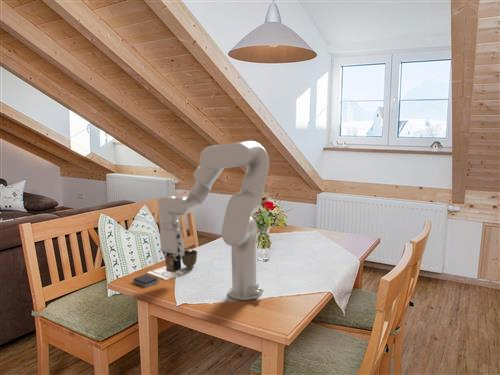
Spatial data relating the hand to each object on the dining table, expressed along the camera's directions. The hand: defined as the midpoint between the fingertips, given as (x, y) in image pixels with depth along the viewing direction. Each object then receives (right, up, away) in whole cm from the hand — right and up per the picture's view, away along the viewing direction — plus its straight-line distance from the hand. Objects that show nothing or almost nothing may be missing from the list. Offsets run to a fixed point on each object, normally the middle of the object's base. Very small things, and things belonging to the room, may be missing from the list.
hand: (173, 267), depth 176 cm
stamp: (0, -1, 0) cm, 1 cm away
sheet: (-6, -5, +14) cm, 16 cm away
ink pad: (-13, -7, +4) cm, 15 cm away
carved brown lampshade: (+4, -4, +20) cm, 20 cm away
